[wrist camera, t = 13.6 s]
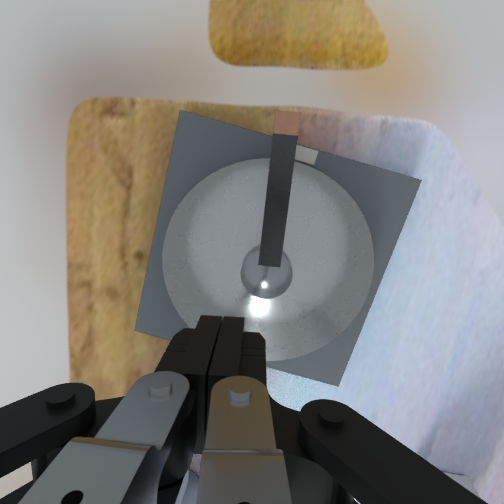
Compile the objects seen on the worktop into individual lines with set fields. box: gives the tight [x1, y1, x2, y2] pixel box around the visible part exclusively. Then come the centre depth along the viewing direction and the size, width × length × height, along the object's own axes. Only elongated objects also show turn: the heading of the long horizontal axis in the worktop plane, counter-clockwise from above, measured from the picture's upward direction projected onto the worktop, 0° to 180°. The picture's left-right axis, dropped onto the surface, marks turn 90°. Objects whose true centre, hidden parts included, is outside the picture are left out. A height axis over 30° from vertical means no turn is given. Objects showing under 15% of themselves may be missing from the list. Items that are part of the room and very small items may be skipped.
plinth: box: [134, 110, 422, 386], centre depth 34 cm, size 22×22×2 cm
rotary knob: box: [162, 110, 374, 361], centre depth 28 cm, size 22×19×8 cm
